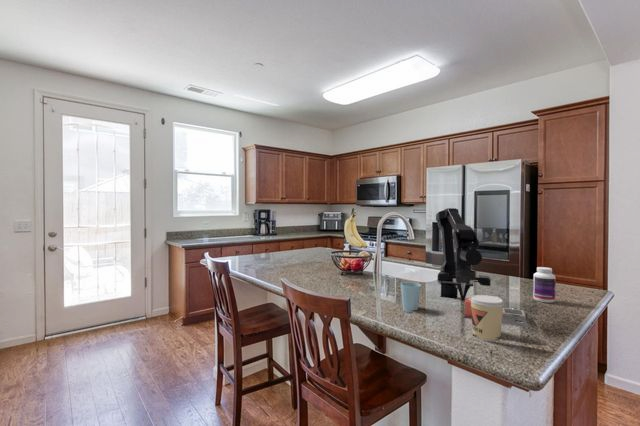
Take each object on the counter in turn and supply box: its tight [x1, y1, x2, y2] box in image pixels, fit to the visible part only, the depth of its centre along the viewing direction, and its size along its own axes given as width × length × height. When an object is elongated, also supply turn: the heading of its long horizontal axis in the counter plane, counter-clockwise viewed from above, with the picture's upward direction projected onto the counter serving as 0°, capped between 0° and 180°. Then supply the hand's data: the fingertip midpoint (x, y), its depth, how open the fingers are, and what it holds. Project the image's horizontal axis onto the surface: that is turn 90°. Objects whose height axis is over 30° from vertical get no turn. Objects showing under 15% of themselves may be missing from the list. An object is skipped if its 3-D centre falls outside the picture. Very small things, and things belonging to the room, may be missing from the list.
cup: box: [400, 281, 422, 314], centre depth 127 cm, size 8×8×10 cm
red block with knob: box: [464, 297, 472, 316], centre depth 120 cm, size 4×4×6 cm
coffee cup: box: [470, 294, 505, 342], centre depth 102 cm, size 9×9×12 cm
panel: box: [462, 306, 530, 328], centre depth 121 cm, size 20×20×2 cm
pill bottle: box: [532, 266, 557, 304], centre depth 142 cm, size 8×8×14 cm
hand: (463, 300), depth 128 cm, fingers closed
